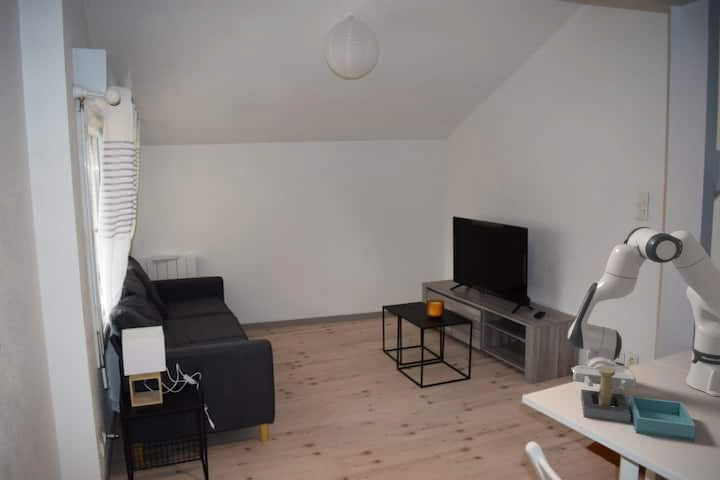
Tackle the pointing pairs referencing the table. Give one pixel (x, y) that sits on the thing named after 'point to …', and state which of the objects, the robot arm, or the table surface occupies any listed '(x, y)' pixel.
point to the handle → (606, 385)
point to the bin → (661, 418)
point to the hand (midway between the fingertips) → (605, 386)
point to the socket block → (605, 407)
